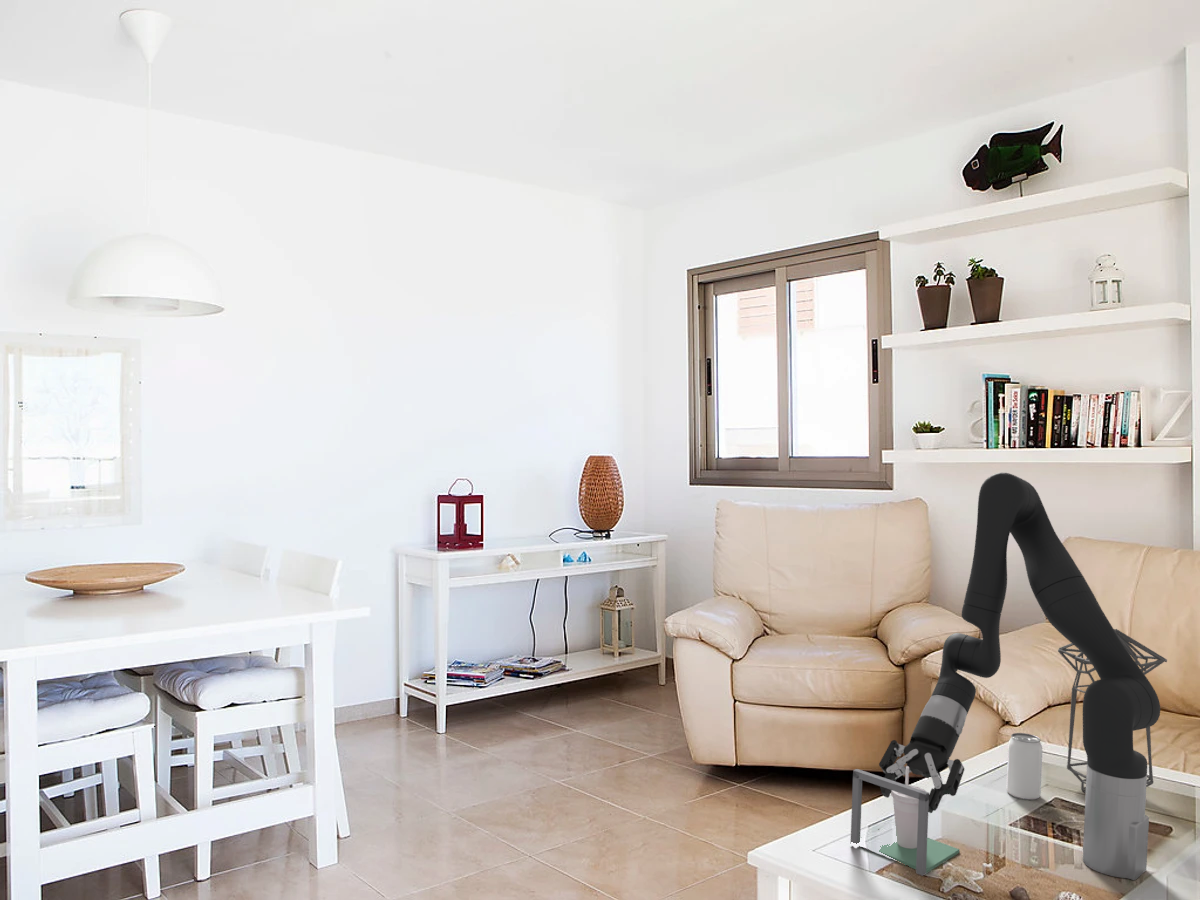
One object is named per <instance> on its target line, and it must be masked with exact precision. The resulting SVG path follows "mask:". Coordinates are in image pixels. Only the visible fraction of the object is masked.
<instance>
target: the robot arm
mask: <svg viewBox="0 0 1200 900" xmlns="http://www.w3.org/2000/svg"><path fill="white" fill-rule="evenodd" d="M977 499H978V500H977V501H978V502H977V518H976V530H975V531H976V532H975V542H974V551H973V558H972V564H971V569H970V574H969V579H968V584H967V587H966V592H965V595H964V600H963V604H962V608H961V609H962V610H961V618H962V619H963V620H964V621H965V622H967V623H969V624H970V625H974V626H975V627H976V628H978V629H979V630H980V633H981V635H982V636H981V637H982V639H981V638H979V637H975V636H971V635H967V634H965V633H962V632H956V633H953V634H950V635H949V636H947V638H946V639H945V640H944V642H943V647H942V657H941V667H940V671H939V675H938V676H939V677H938V679H937V682H936V685H935V686H934V690H933V692H932V693H931V696H930V698H929V699H928V701H927V703H926V704H925V706H924V708H923V709H922V711H921V714H920V716H919V718H918V720H917V723H916V725H915V727H914V729H913V731H912V733H911V736H910V740H909V742H908V744H907V745H903V744H900V743H898V741H897V740H895V739H893V740H891V741H890V743H889V744H888V746H887V748H886V750H885V753H884V754H883V756H882V758H881V759H880V761H879V763H878V765H879V766H878V767H880V768H881V770H882V772H883V774H884V777H883V778H886V779H889V780H892V781H895V782H897V781H896V780H897V779H899V778H900V777H902V776H906V766H908V767H909V774H910V773H912V774H914V775H917V776H922V777H924V778H926V779H929V778H931V780H932V785H933V786H934V787H932V788H931V790H930V792H929V809H928V813H930V814H932V813H933V812H935V811H936V810H937V809H938V807H939V806H940V802H941V801H942V799H943V796H945V795H950V796H951V797H954V796H956V795H957V792H958V790H959V787H960V784H961V780H962V778H963V775H964V771H965V766H964V765H963V763H962V762H961V760H960V759H958V758H955V759H954V760H953V759H950V758H951V756H952V754H953V752H954V751H955V747H956V745H957V743H958V740H959V738H960V736H961V734H962V732H963V730H964V727H965V723H966V719H967V716H968V714H969V711H970V709H971V706H972V704H973V702H974V699H975V697H976V694H977V688H976V687H975V685H974V683H973V682H972V681H971V680H969V679H968V678H966V677H965V676H963V675H962V674H960V673H958V671H960V672H963V673H966V674H970V675H973V676H977V677H980V678H984V679H988V678H991V677H993V676H995V674H997V672H998V671H999V670H1000V669H999V668H1000V665H1001V660H1002V658H1001V657H1002V655H1001V644H1000V643H1001V641H1000V624H1001V617H1002V612H1003V608H1004V607H1003V606H1004V603H1005V599H1006V594H1007V590H1008V589H1007V586H1008V567H1007V566H1008V565H1007V563H1008V561H1007V560H1008V559H1007V558H1008V557H1007V553H1008V552H1007V551H1008V543H1009V537H1010V534H1011V536H1012V537H1013V539H1014V541H1015V542H1016V544H1017V546H1018V547H1019V549H1020V552H1021V554H1022V557H1023V561H1024V565H1025V571H1026V574H1027V579H1028V582H1029V586H1030V588H1031V591H1032V593H1033V596H1034V598H1035V599H1036V601H1037V603H1038V605H1039V607H1040V609H1041V611H1042V612H1043V614H1044V615H1045V619H1047V621H1048V622H1049V623H1050V625H1052V626H1053V628H1054V629H1055V630H1056V631H1057V632H1058V633H1059V634H1061V635H1062V636H1063V637H1064V638H1065V639H1066V640H1067V641H1069V642H1070V644H1071V643H1072V644H1073V646H1074V647H1076V648H1077V650H1080V651H1081V652H1082V653H1083V656H1085V658H1088V660H1089V661H1090V662H1091V664H1092V668H1095V670H1094V671H1096V673H1097V675H1098V677H1099V679H1097V680H1094V682H1092V681H1091V682H1090V683H1089V684H1088V685H1089V686H1088V687H1086V689H1085V693H1083V694H1084V695H1083V699H1082V700H1083V701H1082V743H1083V748H1084V751H1085V754H1086V760H1087V761H1086V762H1087V765H1086V778H1085V779H1086V781H1085V782H1086V784H1085V787H1086V789H1085V791H1086V793H1085V796H1084V797H1085V798H1084V799H1085V802H1084V816H1083V817H1084V818H1083V819H1084V820H1083V821H1084V822H1083V843H1082V844H1083V845H1082V861H1083V863H1084V864H1085V865H1086V866H1087V867H1088V868H1090V869H1092V870H1094V871H1095V872H1098V873H1101V874H1104V875H1108V876H1111V877H1116V878H1124V879H1129V880H1131V881H1136V879H1138V878H1139V877H1140V876H1141V875H1142V874H1144V872H1146V871H1147V863H1148V845H1149V844H1148V843H1149V825H1150V824H1149V823H1150V817H1149V816H1148V815H1147V814H1146V799H1147V787H1146V785H1147V779H1148V778H1147V775H1148V761H1147V758H1146V756H1145V755H1144V754H1142V753H1141V752H1139V751H1137V750H1135V749H1134V731H1139V730H1143V729H1146V728H1148V727H1150V728H1151V727H1152V726H1154V725H1156V723H1157V722H1158V721H1159V718H1160V715H1161V704H1160V699H1159V696H1158V694H1157V692H1156V690H1155V688H1154V687H1153V685H1152V683H1151V682H1150V680H1149V679H1148V678H1147V675H1144V673H1143V672H1144V671H1143V672H1142V671H1141V668H1140V667H1139V665H1137V664H1136V662H1135V660H1134V659H1133V658H1132V657H1131V655H1130V654H1129V653H1128V651H1127V650H1126V648H1125V647H1124V645H1123V644H1122V642H1121V641H1120V639H1119V637H1118V636H1117V634H1116V632H1115V631H1114V629H1115V628H1114V627H1113V625H1112V624H1111V623H1110V621H1109V619H1108V617H1107V616H1106V614H1105V612H1104V611H1103V609H1102V608H1101V606H1100V604H1099V602H1098V599H1097V598H1096V596H1095V594H1094V592H1093V591H1092V589H1091V587H1090V585H1089V584H1088V582H1087V580H1086V579H1085V576H1084V575H1083V573H1082V572H1081V570H1080V569H1079V567H1078V566H1077V564H1076V562H1075V560H1074V559H1073V558H1072V556H1071V554H1070V552H1069V551H1068V550H1067V548H1066V547H1065V546H1064V544H1063V542H1062V541H1061V540H1060V538H1059V537H1058V535H1057V532H1056V531H1055V529H1054V527H1053V525H1052V522H1051V521H1050V518H1049V516H1048V513H1047V511H1046V509H1045V506H1044V504H1043V502H1042V500H1041V496H1040V495H1039V493H1038V491H1037V489H1036V488H1035V487H1034V486H1033V485H1032V484H1031V483H1030V482H1029V481H1027V480H1025V479H1023V478H1021V477H1019V476H1017V475H1015V474H1013V473H1009V472H997V473H994V474H990V476H988V477H987V478H986V479H984V481H983V483H982V484H981V486H980V489H979V493H978V498H977ZM1081 652H1080V653H1081ZM1091 664H1090V665H1091ZM902 755H903V756H902ZM901 756H902V757H901ZM898 757H899V758H898ZM905 765H906V766H905ZM947 768H948V770H949V774H948V775H947V776H948V777H947V779H946V782H945V783H944V782H943V779H942V775H941V772H943V771H944V770H946V769H947ZM879 787H880V788H879V789H880V790H881V791H880V792H881V794H882V796H883V797H885V798H890V796H891V790H890V789H887V788H884V787H881V786H879Z"/></svg>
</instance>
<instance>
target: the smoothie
mask: <svg viewBox="0 0 1200 900" xmlns="http://www.w3.org/2000/svg"><path fill="white" fill-rule="evenodd" d="M905 767H906V775H904V776H905V781H904V785H907V786H910V787H913V788H916V789H919V790H922V791H925V792H927V791H926V790H925V789H924V788H921V787H919V786H915V785H912V784H911V785H910V784H909V782H910V781H909V779H910V773H909V767H908V766H907V765H906V766H905ZM890 796H891V797H892V803H893V811H894V813H893V814H894V822H895V823H894V824H895V826H896V836H897V844H898V845H900V846H901V847H904V848H909V849H914V848H917V831H918V806H919V799H916V798H913V797H910V796H908V795H905V794H902V793H899V792H896V791H893V790H891V794H890Z"/></svg>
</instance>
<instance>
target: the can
mask: <svg viewBox="0 0 1200 900" xmlns="http://www.w3.org/2000/svg"><path fill="white" fill-rule="evenodd" d="M1041 740H1042V739H1041V738H1040V737H1038V735H1037V736H1036V735H1034V734H1030V733H1024V732H1015V733H1012V734H1011V735H1010V739H1009V741H1008V749H1007V770H1006V791H1007V793H1008V794H1009V795H1010V796H1012V797H1014V798H1017V799H1020V800H1025V801H1034V800H1038V799H1039V798H1041V795H1042V794H1041V793H1042V792H1041V791H1042V790H1041V789H1042V773H1043V772H1042V771H1043V770H1042V769H1043V768H1042V767H1043V745H1042V743H1041Z"/></svg>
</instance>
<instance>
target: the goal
mask: <svg viewBox="0 0 1200 900" xmlns="http://www.w3.org/2000/svg"><path fill="white" fill-rule="evenodd" d="M863 781H864V782H867V783H868V784H869V783H870V784H873V785H875V786H878V787H880V786H881V787H884V788H887V789H890V790H893V791H896V792H899V793H902V794H905V795H908V796H910V797H913V798H916V799H919V806H918V831H917V848H914V849H909V848H904V847H901V846H900V845H898V844H897V842H896V843H895V842H894V843H893V844H892V845H891V846H889V845H890V844H889V845H888V844H887V845H884V846H883V845H882V847H881V846H880V847H881V849H880V850H879V852H881V853H883V854H885V855H887V856H889V857H891V858H893V859H895V860H897V861H899V862H901V863H903V864H905V865H904V866H906V865H908V866H909V868H911V869H914V870H915V874H916V875H919V876H921V877H922V876H924V875H926V874H928V873H929V872H931V871H933V869H934V870H935V869H936V868H937V867H939V866H941V865H942V864H944V863H945V862H948V861H949V860H950V859H951V858H953V857H955V856H956V855H958V854H959V853H960V849H959V848H957V847H954V846H951V845H949V844H947V843H943V842H941V841H938V840H935V839H933V838H930V837H928V830H929V812H928V809H929V794H930V792H928V791H926V790H925V791H926V792H925V791H922V790H919V789H916V788H913V787H910V786H907V785H905V783H901V782H898V781H896V782H895V781H892V780H889V779H886V778H884V777H882V776H880V775H877V774H874V773H870V772H868V771H865V770H862V769H859V768H856V769H853V770H852V790H851V792H852V793H851V794H852V795H851V816H850V817H851V820H850V821H851V822H850V823H851V824H850V843H851V842H853V843H856V844H857V843H859V842H860V838H861V827H862V823H861V822H862V797H863V795H862V794H863ZM887 846H888V847H887ZM901 863H900V864H901ZM903 864H902V865H903ZM908 866H907V867H908Z"/></svg>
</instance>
